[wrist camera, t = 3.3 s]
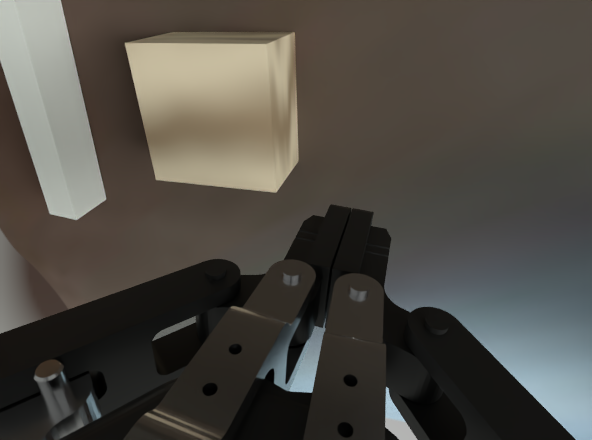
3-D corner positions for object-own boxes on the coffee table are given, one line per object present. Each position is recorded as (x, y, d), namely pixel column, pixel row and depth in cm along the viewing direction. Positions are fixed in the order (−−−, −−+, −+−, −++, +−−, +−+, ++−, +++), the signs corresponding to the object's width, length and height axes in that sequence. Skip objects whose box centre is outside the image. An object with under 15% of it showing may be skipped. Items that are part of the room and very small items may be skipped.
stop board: (3, -101, 24) (-55, -111, 21) (37, -100, 24) (-18, -110, 21) (81, 194, 35) (49, 214, 32) (106, 199, 34) (76, 220, 31)
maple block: (174, 31, 26) (124, 43, 21) (295, 31, 23) (266, 43, 19) (194, 151, 30) (156, 179, 26) (299, 159, 28) (276, 192, 24)
